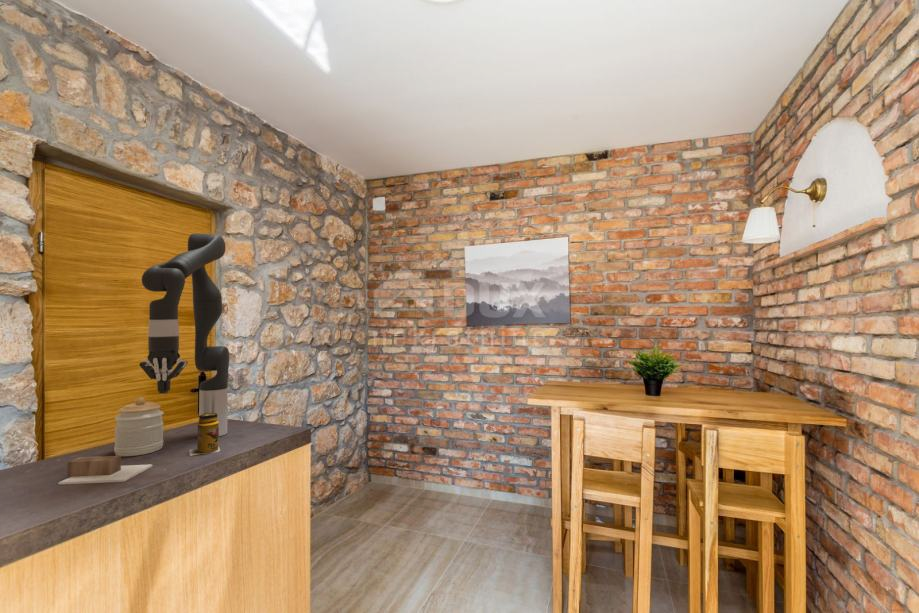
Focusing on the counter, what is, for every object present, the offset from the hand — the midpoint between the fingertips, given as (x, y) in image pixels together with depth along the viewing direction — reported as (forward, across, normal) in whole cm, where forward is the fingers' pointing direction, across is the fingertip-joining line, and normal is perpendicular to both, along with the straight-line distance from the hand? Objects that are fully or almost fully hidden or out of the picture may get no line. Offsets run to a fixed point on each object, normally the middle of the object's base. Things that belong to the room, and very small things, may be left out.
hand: (163, 392), depth 126 cm
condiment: (+22, -6, -13) cm, 26 cm away
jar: (+22, +16, -16) cm, 32 cm away
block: (+18, +8, +7) cm, 22 cm away
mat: (+21, +10, +8) cm, 25 cm away
